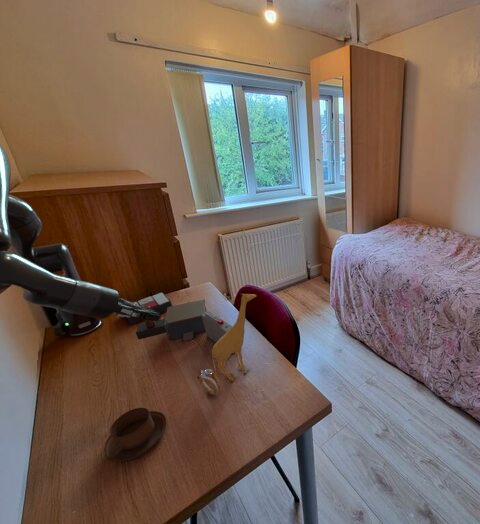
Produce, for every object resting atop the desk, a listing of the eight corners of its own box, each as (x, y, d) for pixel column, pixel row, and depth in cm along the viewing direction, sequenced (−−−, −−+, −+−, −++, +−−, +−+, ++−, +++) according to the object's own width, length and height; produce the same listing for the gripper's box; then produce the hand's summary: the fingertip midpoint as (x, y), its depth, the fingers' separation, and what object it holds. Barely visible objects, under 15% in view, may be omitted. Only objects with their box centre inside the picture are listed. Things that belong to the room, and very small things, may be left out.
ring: (199, 392, 80) (192, 370, 76) (209, 384, 82) (202, 362, 79) (215, 402, 76) (208, 380, 73) (225, 393, 79) (219, 372, 76)
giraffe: (262, 352, 94) (250, 285, 84) (270, 358, 91) (259, 290, 81) (214, 383, 82) (193, 310, 72) (222, 391, 80) (201, 316, 69)
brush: (167, 332, 82) (158, 307, 79) (138, 339, 80) (127, 314, 76) (168, 325, 86) (160, 301, 82) (141, 331, 83) (131, 307, 80)
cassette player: (239, 349, 95) (233, 324, 91) (231, 354, 93) (225, 329, 89) (214, 332, 104) (208, 309, 100) (207, 336, 102) (200, 312, 98)
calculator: (120, 306, 114) (162, 290, 124) (125, 315, 116) (165, 299, 126) (126, 317, 107) (170, 299, 117) (131, 326, 109) (173, 308, 118)
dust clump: (183, 333, 102) (184, 336, 102) (183, 338, 99) (183, 341, 100) (192, 331, 103) (193, 333, 103) (192, 336, 100) (193, 338, 101)
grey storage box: (167, 341, 100) (161, 324, 97) (170, 322, 110) (165, 307, 107) (209, 330, 105) (204, 314, 102) (208, 314, 115) (204, 299, 112)
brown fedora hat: (156, 459, 63) (148, 441, 61) (95, 472, 61) (83, 453, 58) (175, 412, 74) (168, 395, 71) (123, 421, 72) (114, 404, 69)
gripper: (110, 292, 66) (176, 310, 80) (85, 278, 72) (151, 298, 87) (91, 322, 64) (162, 336, 78) (67, 306, 70) (137, 321, 85)
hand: (156, 316), depth 83 cm, fingers closed on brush, 2 cm apart
